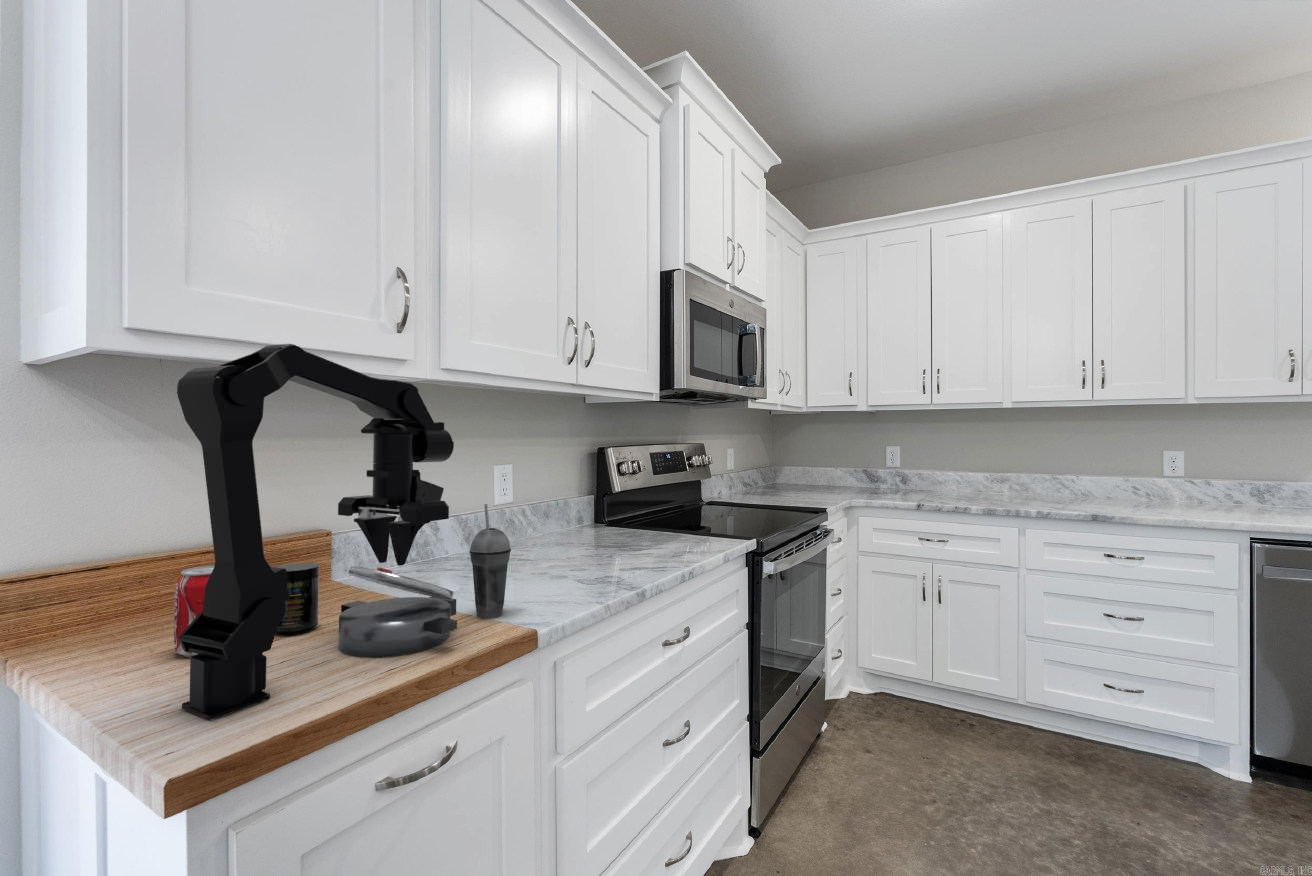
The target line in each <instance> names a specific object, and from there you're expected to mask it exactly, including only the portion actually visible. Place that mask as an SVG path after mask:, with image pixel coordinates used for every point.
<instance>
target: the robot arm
mask: <svg viewBox="0 0 1312 876" xmlns="http://www.w3.org/2000/svg"><path fill="white" fill-rule="evenodd" d="M288 381H290V382H293V383H296V384H299V385H301V386H305V387H307V388H311V389H313V390H317V391H319V392H323V393H326V394H328V395H331V396H334V397H337V398H340V399H343V400H346V401H348V402H350V403H352V404H354V405H355V406H356V407H357V408H358V409H359V411H361V412H362V413H365V414H366V415H368V416H370V417H371V420H370V421H369V422H368V423H367V424H366V425H365V426H363V427H362V428H361V430H360V433H361V434H363V435H364V434H366V435H367V434H368V435H369V434H371V435H373V436H372V437H373V438H372V439H373V441H372V442H373V445H372V447H373V448H372V452H373V453H372V455H373V456H372V469H366V477H367V478H372V495H369V494H368V495H366V494H365V495H354V496H353V495H352V496H344V497H342V498H341V500H340V501H339V502H338V503H337V515H338V516H346V517H351V516H353V514H357V516H358V517H355V518H353V523H357V526H358V527H359V529H360V530H361V531H362V534H363V535H364V536H365V538H366V540H367V543H368V544H369V545H370V548H371V549H372V551H373V553H374V555H375V557H376V559H377V561H378V563H380V564H384V563H387V560H388V554H389V546H390V545H389V544H390V541H391V547H392V549H393V556H394V559H395V561H396V566H404V565H406V562H407V559H408V557H409V554H410V552H411V549H412V546H413V543H414V541H415V539H416V536H417V534H418V533H419V530H421V529H422V528H423V527H424V526H425V525H426V524H430V523H431V522H434V521H435V522H436V521H442V520H449V519H450V517H449V516H450V512H449V511H450V506H449V505H448V503H447V502H446V501H445V500H442V497H443V493H444V489H445V488H444V487H442V486H439V485H437V484H434V483H432V482H430V481H426V480H423V479H422V478H421V472H420V469H414V463H442V462H446V461H447V460H449V459H450V457H451V456H452V454H453V453H454V452H453V451H454V446H455V445H454V444H455V442H454V441H453V438H452V435H451V434H450V433H449V431H448V430H446V429H445V422H442V421H440V422H439V421H437V422H436V421H435V422H434V420H433V418H432V416H431V414H430V412H429V410H428V408H427V406H426V405H425V402H424V401H423V399H422V396H421V395H420V393H419V388H418V387H417V386H415V385H414V384H413V383H411V382H406V381H402V380H401V381H400V380H397V379H395V380H394V379H387V378H377V377H373V376H369V375H366V374H364V373H362V372H359V371H357V370H355V369H351V368H349V367H347V366H344V365H341V364H339V363H337V362H334V361H332V360H329V359H326V358H323V357H321V356H319V355H316V354H314V353H311V352H309V351H306V350H304V349H303V347H300V346H298V345H296V344H292V343H282V344H281V343H280V344H272V345H271V344H270V345H266V346H264V347H262V348H261V349H259V350H256V351H255V352H252V353H250V354H247V355H244V356H241V357H239V358H236V359H233V360H230V361H228V362H225V363H222V364H219V365H217V366H207V367H203V366H202V367H196V368H193V369H191V370H189V371H187V372H186V373H185V374H184V375H183V377H181V378H180V379H179V380H178V383H177V388H176V394H177V398H178V401H179V403H180V404H179V405H180V407H181V411H182V413H183V416H184V421H185V423H186V424H187V425H188V427H189V428H190V429H191V431H192V433H193V434H194V435H195V436H196V438H197V440H198V441H199V443H200V445H201V449H202V456H203V457H202V458H203V459H202V460H203V466H204V476H205V484H206V494H207V501H208V511H209V519H210V529H211V537H212V544H213V545H212V546H213V554H214V565H213V566H214V569H213V571H212V573H211V575H210V577H209V580H208V582H207V584H206V586H205V594H204V608H203V610H202V611H201V612H200V614H199V615H198V616H197V617H196V618H195V619H194V620H193V621H192V622H191V624H190V625H189V626H188V627H187V628H186V629H185V630H184V631H183V632H182V634H181V635H180V636H179V641H180V643H181V646H182V648H183V650H184V652H192V653H196V654H198V655H195V656H191V657H189V659H190V660H189V700H187V701H186V702H185V701H184V702H183V703H181V709H182V710H183V709H184V710H185V711H188V712H190V713H192V714H195V715H197V716H199V717H203V718H204V719H207V720H214V719H218V718H220V717H222V716H226V715H228V714H232V713H233V712H237V711H239V710H241V709H245V708H247V707H250V706H254V705H255V704H260V703H261V702H264V701H267V700H268V699H271V693H269V692H266V691H265V690H266V688H267V662H268V661H267V659H268V658H267V656H266V655H265V654H264V653H265V652H268V651H270V650H271V648H272V646H273V643H274V640H275V637H276V636H277V635H276V632H277V629H278V626H279V623H280V621H281V620H282V619H283V618H284V617H285V614H286V606H287V604H286V601H291V597H290V595H289V594H288V590H287V578H288V575H287V571H286V569H284V568H277V567H276V566H272V565H270V564H269V562H268V560H267V559H266V555H265V552H264V551H265V550H264V541H263V540H264V539H263V533H262V532H263V531H262V522H261V511H260V503H259V493H258V484H257V483H258V482H257V473H256V464H255V456H254V445H253V444H254V443H253V442H254V438H255V436H256V433H257V432H258V429H259V426H260V425H261V423H262V420H263V418H264V406H265V398H266V397H268V396H270V395H271V394H273V393H275V392H277V391H278V390H280V389H281V388H283V387H284V385H286V384H287V383H288ZM396 519H397V520H396Z"/></svg>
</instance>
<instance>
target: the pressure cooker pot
mask: <svg viewBox="0 0 1312 876" xmlns="http://www.w3.org/2000/svg"><path fill="white" fill-rule="evenodd" d="M340 606H341V607H340V612H341V613H340V614H339V616H338V650H339V652H341V653H342V654H345V655H347V656H349V657H350V656H351V657H355V658H365V659H366V658H367V659H368V658H369V659H378V658H379V659H380V658H381V659H382V658H394V657H395V658H396V657H402V656H407V655H412V654H417V653H419V652H420V653H421V652H424V651H428V650H430V649H433V648H436V647H438V646H440V645H442V644H444V643H445V642H446V641H448V640H449V638H450V636H451V632H452V631H454V630H458V620H457V619H452V618H451V617H454V616H456V615H457V598H452V599H443V598H437V597H432V596H427V597H423V596H418V597H417V596H407V597H406V596H405V597H404V596H403V597H394V598H393V597H392V598H385V599H379V600H373V601H369V602H367V601H362V600H355V601H352V602H351V601H350V602H347V603H344V604H341V605H340ZM443 642H444V643H443Z"/></svg>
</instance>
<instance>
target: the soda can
mask: <svg viewBox="0 0 1312 876" xmlns="http://www.w3.org/2000/svg"><path fill="white" fill-rule="evenodd" d="M214 566H215V565H206V566H204V565H203V566H202V565H201V566H196V567H191V568H187V569H183V570H182V571H181V570H180V577H179V578H178V580H177V582H176V583H175V587H174V602H173V603H174V605H173V611H174V612H173V641H174V642H173V643H174V651H175V653H177V654H179V655H182V656H183V657H185V658H190V657H191V656H195V655H198V654H196V653H192V652H184V650H183V648H182V646H181V643H180V641H179V636H180V635H181V634H182V632H183V631H184V630H185V629H186V628H187V627H188V626H189V625H190V624H191V622H192V621H193V620H194V619H195V618H196V617H197V616H198V615H199V614H200V612H201V611H202V610H203V608H204V594H205V586H206V584H207V582H208V580H209V577H210V575H211V573H212V571H213V569H214Z"/></svg>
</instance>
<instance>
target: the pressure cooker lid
mask: <svg viewBox="0 0 1312 876" xmlns="http://www.w3.org/2000/svg"><path fill="white" fill-rule="evenodd" d="M347 574H348V575H350V576H352V577H355V578H358V579H361V580H364V581H368V582H370V583H375V584H376V585H377V584H378V585H382V586H385V587H389V588H393V589H396V590H401V591H405V592H409V593H414V594H418V595H423V596H427V597H437V598H443V599H453V597H454V594H455V592H454V591H452V590H451V589H448V588H446V587H443V586H439V585H437V584H433V583H430V582H426V581H423V580H419V579H415V578H412V577H408V576H404V575H399V574H395V573H393V571H392V570H390V569H387V568H382V567H376V569H375V568H368V567H362V566H353V565H352V566H350V567H349V569H348V572H347Z"/></svg>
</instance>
